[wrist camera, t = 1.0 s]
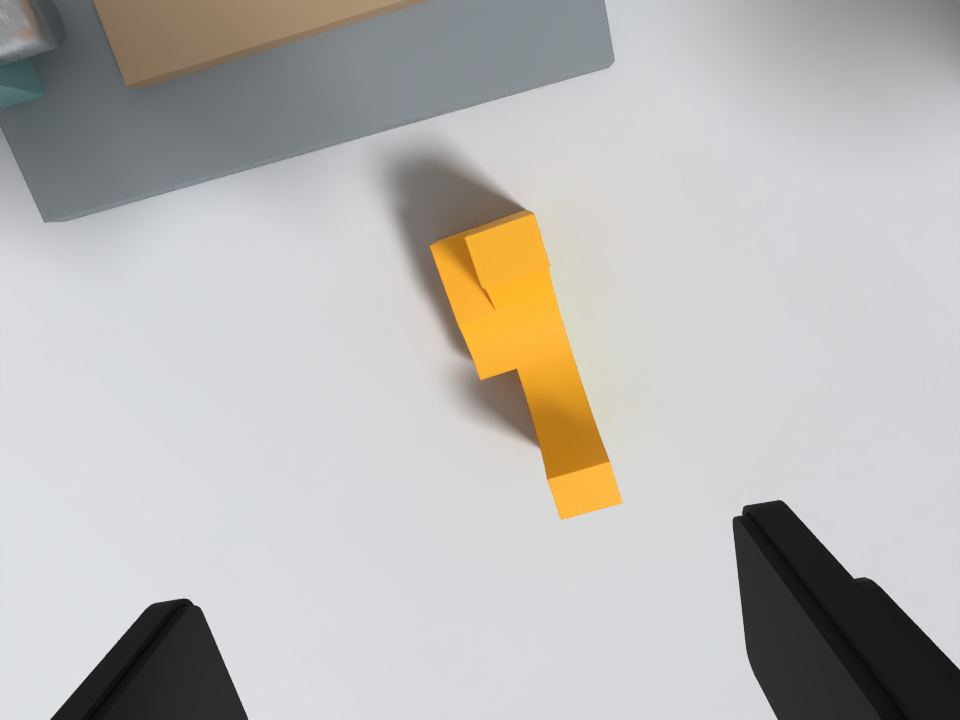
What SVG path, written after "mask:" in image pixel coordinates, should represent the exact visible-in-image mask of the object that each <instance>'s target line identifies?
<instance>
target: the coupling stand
mask: <svg viewBox="0 0 960 720" xmlns="http://www.w3.org/2000/svg"><path fill="white" fill-rule="evenodd" d="M53 1H54V3H55V5H56V6H57V8H58V10H59V13H60V15H61V17H62V20H63V23H64V27H65V42H64V44H63V45H62V46H61V47H59V48H56V49H53V50H50V51H47V52H43V53H40V54H37V55H34V56H31V57H28V58H25V59H21V60H18V61H15V62H12V63H9V64H6V65H3V66H0V126H1V128H2V130H3V132H4V134H5V137H6V139H7V141H8V143H9V145H10V148H11V150H12V152H13V154H14V157H15V159H16V161H17V163H18V165H19V168H20V170H21V172H22V174H23V176H24V179H25V181H26V183H27V185H28V187H29V190H30V192H31V194H32V196H33V198H34V201H35V203H36V205H37V207H38V209H39V212H40V214H41V216H42V218H43V220H44V223H47V222H64V221H68V220H71V219H75V218H79V217H82V216H86V215H89V214H93V213H96V212H100V211H103V210H107V209H110V208H114V207H117V206H121V205H124V204H128V203H132V202H135V201H139V200H142V199H146V198H149V197H153V196H156V195H160V194H163V193H167V192H170V191H174V190H177V189H181V188H185V187H188V186H192V185H195V184H199V183H202V182H206V181H209V180H213V179H216V178H220V177H223V176H227V175H230V174H234V173H238V172H241V171H245V170H248V169H252V168H255V167H259V166H262V165H266V164H269V163H273V162H276V161H280V160H283V159H287V158H291V157H294V156H298V155H301V154H305V153H308V152H312V151H315V150H319V149H322V148H326V147H329V146H333V145H336V144H340V143H344V142H347V141H351V140H354V139H358V138H361V137H365V136H368V135H372V134H375V133H379V132H382V131H386V130H389V129H393V128H397V127H400V126H404V125H407V124H411V123H414V122H418V121H421V120H425V119H428V118H432V117H435V116H439V115H442V114H446V113H450V112H453V111H457V110H460V109H464V108H467V107H471V106H474V105H478V104H481V103H485V102H488V101H492V100H495V99H499V98H503V97H506V96H510V95H513V94H517V93H520V92H524V91H527V90H531V89H534V88H538V87H541V86H545V85H548V84H552V83H556V82H559V81H563V80H566V79H570V78H573V77H577V76H580V75H584V74H587V73H591V72H594V71H598V70H601V69H605V68H609V67H610V66H611V65H612V63H613V62H614V61H615V59H614V53H613V47H612V41H611V36H610V30H609V24H608V18H607V12H606V6H605V0H53Z"/></svg>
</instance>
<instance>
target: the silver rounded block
mask: <svg viewBox="0 0 960 720" xmlns="http://www.w3.org/2000/svg"><path fill="white" fill-rule="evenodd" d="M64 42H65V27H64V23H63V20H62V17H61V15H60V13H59V10H58V8H57V6H56V5H55V3H54V1H53V0H0V66H3V65H6V64H9V63H12V62H15V61H18V60H21V59H25V58H28V57H31V56H34V55H37V54H40V53H43V52H47V51H50V50H53V49H56V48H59V47H61V46H62V45H63V44H64Z"/></svg>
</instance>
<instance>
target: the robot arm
mask: <svg viewBox="0 0 960 720" xmlns="http://www.w3.org/2000/svg"><path fill="white" fill-rule="evenodd" d="M742 515H743V516H737V517H734V518H733V532H734V541H735V550H736V560H737V569H738V578H739V587H740V596H741V605H742V615H743V624H744V633H745V642H746V650H747V655H748V659H749V662H750V665H751V668H752V670H753V672H754V675H755V677H756V679H757V681H758V682H759V684H760V686H761V688H762V690H763V692H764V694H765V696H766V698H767V700H768V702H769V704H770V705H771V707H772V709H773V711H774V713H775V715H776V717H777V719H778V720H960V670H959V669H958V667H957V666H956V665H955V664H954V663H953V662H952V661H951V660H950V659H949V658H948V657H947V656H946V655H945V654H944V653H943V652H942V651H941V650H940V649H939V648H938V647H937V646H936V645H935V643H934V642H933V641H932V640H931V639H930V638H929V637H928V636H927V635H926V634H925V633H924V632H923V631H922V630H921V629H920V628H919V627H918V626H917V625H916V624H915V623H914V622H913V621H912V619H911V618H910V617H909V616H908V615H907V614H906V613H905V612H904V611H903V610H902V609H901V608H900V607H899V606H898V605H897V604H896V603H895V602H894V601H893V600H892V599H891V598H890V597H889V595H888V594H887V593H886V592H885V591H884V590H883V589H882V588H881V587H880V586H878V585H877V584H876V583H875V582H874V581H873V580H870V579H868V578H865V577H863V578H857V579H854V578H853V577H852V576H851V575H850V574H849V573H848V572H847V571H846V569H845V568H844V567H843V566H842V565H841V564H840V563H839V562H838V561H837V560H836V558H835V557H834V556H833V555H832V554H831V553H830V552H829V551H828V550H827V549H826V547H825V546H824V545H823V544H822V543H821V542H820V541H819V540H818V539H817V538H816V536H815V535H814V534H813V533H812V532H811V531H810V530H809V529H808V528H807V527H806V525H805V524H804V523H803V522H802V521H801V520H800V519H799V518H798V517H797V516H796V514H795V513H794V512H793V511H792V510H791V509H790V508H789V507H788V506H787V505H786V504H785V503H784V502H783V501H781V500H777V501H771V502H765V503H759V504H753V505H747V506H744V507H743V511H742ZM50 720H248V717H247V715H246V713H245V710H244V708H243V705H242V703H241V701H240V698H239V696H238V694H237V691H236V689H235V687H234V684H233V682H232V680H231V677H230V675H229V673H228V670H227V668H226V666H225V663H224V661H223V659H222V656H221V654H220V652H219V649H218V647H217V645H216V642H215V640H214V637H213V635H212V633H211V630H210V628H209V626H208V623H207V621H206V619H205V616H204V614H203V612H202V610H201V608H200V607H198V606H195V605H193V603H192V602H191V601H190V600H188V599H177V600H171V601H165V602H159V603H155V604H152V605H150V606H149V607H148V608H147V609H146V610H145V611H144V612H143V613H142V614H141V615H140V617H139V618H138V619H137V620H136V621H135V622H134V623H133V625H132V626H131V627H130V628H129V629H128V630H127V632H126V633H125V634H124V635H123V636H122V637H121V639H120V640H119V641H118V642H117V643H116V644H115V645H114V647H113V648H112V649H111V650H110V651H109V652H108V654H107V655H106V656H105V657H104V658H103V659H102V660H101V662H100V663H99V664H98V665H97V666H96V667H95V669H94V670H93V671H92V672H91V673H90V674H89V676H88V677H87V678H86V679H85V680H84V681H83V682H82V684H81V685H80V686H79V687H78V688H77V689H76V691H75V692H74V693H73V694H72V695H71V696H70V697H69V699H68V700H67V701H66V702H65V703H64V704H63V706H62V707H61V708H60V709H59V710H58V711H57V713H56V714H55V715H54V716H53V717H52V718H51V719H50Z"/></svg>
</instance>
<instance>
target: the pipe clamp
mask: <svg viewBox="0 0 960 720" xmlns="http://www.w3.org/2000/svg"><path fill="white" fill-rule="evenodd" d="M430 249H431V251H432V254H433V257H434V260H435V263H436V265H437V268H438V271H439V274H440V276H441V279H442V282H443V285H444V288H445V290H446V293H447V296H448V299H449V302H450V304H451V307H452V310H453V313H454V315H455V318H456V321H457V324H458V326H459V328H460V330H461V332H462V334H463V337H464V339H465V341H466V344H467V346H468V348H469V351H470V353H471V356H472V358H473V361H474V364H475V366H476V369H477V372H478V375H479V378H480V380H482V379H486V378H489V377H492V376H495V375H498V374H502V373H505V372H508V371H511V370H514V369H517V371H518V374H519V377H520V380H521V383H522V386H523V389H524V393H525V396H526V399H527V402H528V406H529V409H530V413H531V416H532V419H533V423H534V427H535V430H536V434H537V437H538V441H539V445H540V449H541V453H542V457H543V461H544V466H545V470H546V475H547V480H548V483H549V486H550V489H551V492H552V495H553V498H554V501H555V504H556V507H557V510H558V512H559V515H560V518H561V520H563V519H566V518H570V517H574V516H577V515H581V514H584V513H588V512H592V511H595V510H599V509H602V508H606V507H610V506H613V505H617V504H621V503H622V500H621V496H620V493H619V490H618V487H617V483H616V480H615V477H614V474H613V470H612V467H611V464H610V461H609V458H608V456H607V453H606V451H605V448H604V445H603V443H602V440H601V437H600V434H599V432H598V429H597V426H596V423H595V420H594V418H593V415H592V412H591V409H590V406H589V403H588V400H587V397H586V394H585V391H584V388H583V385H582V382H581V379H580V376H579V373H578V370H577V367H576V363H575V360H574V357H573V354H572V351H571V348H570V344H569V341H568V338H567V335H566V331H565V328H564V325H563V321H562V318H561V314H560V311H559V307H558V304H557V300H556V297H555V293H554V289H553V285H552V281H551V277H550V272H549V266H550V264H549V261H548V257H547V254H546V251H545V247H544V244H543V241H542V238H541V234H540V231H539V228H538V224H537V221H536V218H535V215H534V213H532V212H530V211H528V210H523V211H520V212H517V213H514V214H512V215H509V216H506V217H503V218H500V219H497V220H494V221H492V222H489V223H486V224H483V225H480V226H477V227H474V228H472V229H469V230H466V231H463V232H460V233H457V234H454V235H452V236H449V237H446V238H443V239H440V240H437V241H436V242H434V243H433V244H432V245H430Z"/></svg>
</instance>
